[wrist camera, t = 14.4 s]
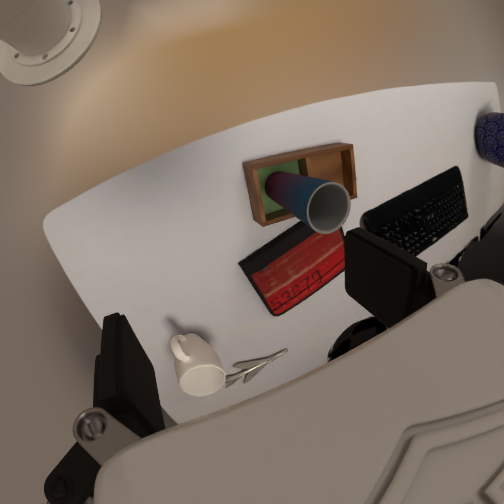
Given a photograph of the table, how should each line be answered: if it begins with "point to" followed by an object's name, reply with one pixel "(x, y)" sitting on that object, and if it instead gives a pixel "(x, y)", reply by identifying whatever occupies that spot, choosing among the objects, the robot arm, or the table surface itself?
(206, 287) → the table surface
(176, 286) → the table surface
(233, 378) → the toy airplane
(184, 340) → the mug
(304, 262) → the binder
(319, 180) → the cup
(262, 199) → the wooden compartment tray
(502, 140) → the planter
